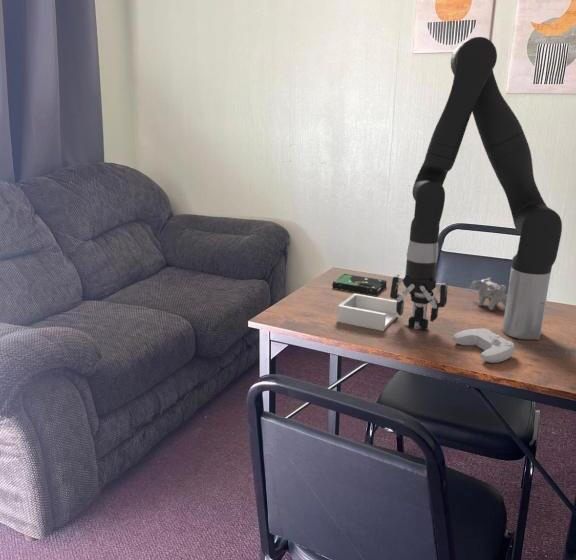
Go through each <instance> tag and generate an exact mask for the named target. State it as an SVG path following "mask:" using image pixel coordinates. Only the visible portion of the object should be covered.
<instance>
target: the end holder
mask: <svg viewBox="0 0 576 560" xmlns="http://www.w3.org/2000/svg"><path fill="white" fill-rule="evenodd" d="M396 308H397V301H396V300H395V299H388V298H383V297H377V296H373V295H367V294H362V293H356V292H353V294H352V295H350V296H349V297H348V298H346V299H345V300H344V301H342V302H341V303H340V304H338V305H337V316H336V317H337V318H336V321H337V323H342V324H347V325H352V326H357V327H361V328H367V329H372V330H377V331H382V332H384V331H385V330H386V329H387V328H388V327H389V326H390V325H391V324H392V323H393V322H394V321H395V320H396V318H398V316H399V315H398V313H397V312H396Z"/></svg>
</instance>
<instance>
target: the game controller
mask: <svg viewBox="0 0 576 560" xmlns="http://www.w3.org/2000/svg"><path fill="white" fill-rule="evenodd" d="M452 340H453V341H454V342H455V343H456V344H458V345H460V346H476V347H478V348H480V349H481V350H483V351H482V352H481V353H480V356H479V357H480V359H482V360H483V361H485V362H487V363H491V364H493V363H494V364H496V363H502V362H504V361H506V360H508V359H510V358H511V357H512V356H513V355H514V353H515V350H516V348H515V344H514V343H513V341H511V340H508V339H506V338H503V337H502V336H500V334H496V333H495V332H493V331H492V330H490V329H489V328H471V329H466V330H461V331H458V332H455V333H454V334H453V336H452Z"/></svg>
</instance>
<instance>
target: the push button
mask: <svg viewBox="0 0 576 560" xmlns="http://www.w3.org/2000/svg"><path fill="white" fill-rule="evenodd" d="M410 301H411V302H413V303H412V312H411V314H410V317H409V318H407V319H406V318H404V319H403V324H404V325H408V327H409V328H412V329H415V330H421V331H423V332H425V331H427V329H428V328H429V318H428V316H427V311H428V304H430V302H429V301H428V300H427V298H426V297H425V295H424V294H423V293H418V292H415V296H413V295H411V294H410ZM405 321H406V322H405Z"/></svg>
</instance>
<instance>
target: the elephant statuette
mask: <svg viewBox="0 0 576 560" xmlns="http://www.w3.org/2000/svg"><path fill="white" fill-rule="evenodd" d="M472 289H473V290H475V291H476V290H477V291H478V301H477V306H479V307H482V306H483V305H484V303H485V302H486V300H487V299H488V302H489V305H488V310H489V311H493V310H494V308H495V306H496V305H498V304H499V303H502V304H503V306H504V307H506V300H507V294H506V290H507V286H506V285H504V284H501V285H500V284H498V283H496V282H493V281H492V277H488V278H483V279H481V280H480V279H479V280H473V281H472V283H471V285H470V286H469V290H472Z"/></svg>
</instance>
